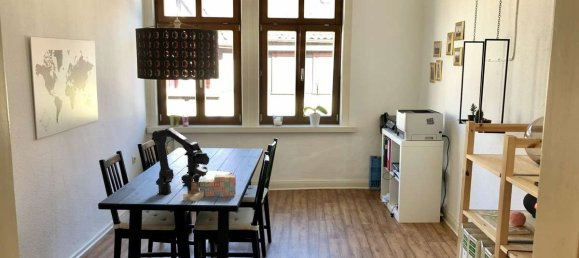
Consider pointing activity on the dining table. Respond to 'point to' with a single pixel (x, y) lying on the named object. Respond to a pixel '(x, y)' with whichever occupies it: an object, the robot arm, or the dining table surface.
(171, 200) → the dining table surface
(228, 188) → the stack of blocks
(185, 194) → the birch block
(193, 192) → the walnut cube
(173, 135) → the robot arm
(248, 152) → the dining table surface
